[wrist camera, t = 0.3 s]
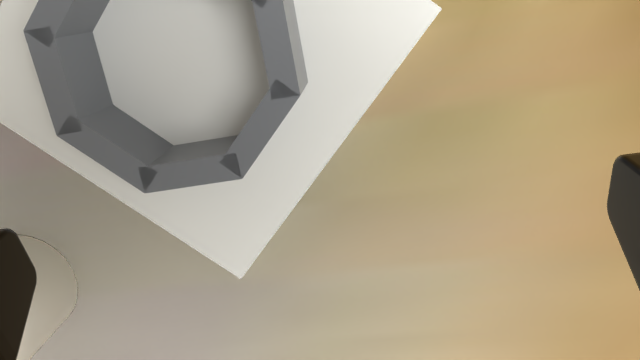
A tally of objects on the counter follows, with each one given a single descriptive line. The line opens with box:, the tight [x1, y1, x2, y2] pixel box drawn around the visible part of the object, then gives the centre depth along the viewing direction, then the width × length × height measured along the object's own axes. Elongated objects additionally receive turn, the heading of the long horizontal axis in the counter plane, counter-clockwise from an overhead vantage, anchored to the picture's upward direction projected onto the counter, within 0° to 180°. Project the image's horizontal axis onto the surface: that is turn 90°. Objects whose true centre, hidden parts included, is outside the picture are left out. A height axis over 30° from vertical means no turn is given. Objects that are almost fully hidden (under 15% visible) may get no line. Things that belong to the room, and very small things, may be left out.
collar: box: [0, 0, 441, 279], centre depth 22 cm, size 14×14×4 cm
